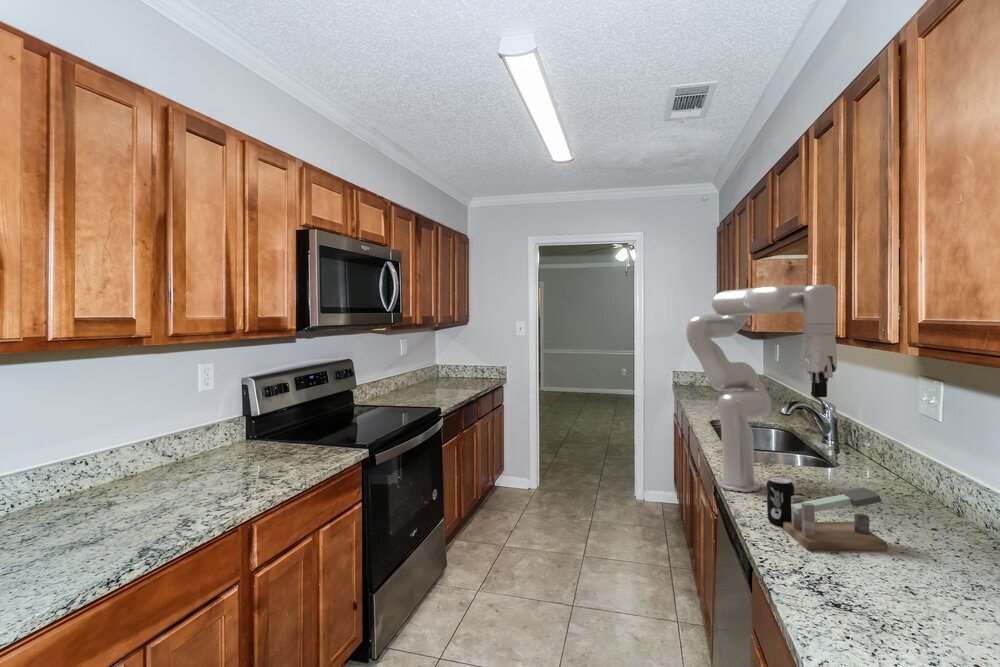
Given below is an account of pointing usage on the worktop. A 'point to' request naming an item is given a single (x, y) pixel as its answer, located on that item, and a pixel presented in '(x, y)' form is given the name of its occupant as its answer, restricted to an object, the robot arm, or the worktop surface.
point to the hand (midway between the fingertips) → (819, 396)
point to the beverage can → (779, 499)
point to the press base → (831, 532)
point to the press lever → (841, 500)
